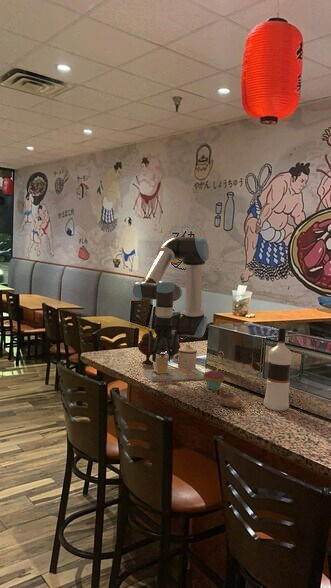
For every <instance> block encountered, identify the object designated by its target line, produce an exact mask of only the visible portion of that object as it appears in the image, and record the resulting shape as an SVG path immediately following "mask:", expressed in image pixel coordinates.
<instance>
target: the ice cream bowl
mask: <svg viewBox="0 0 331 588" xmlns="http://www.w3.org/2000/svg"><path fill="white" fill-rule="evenodd" d="M155 339H156V336H153V347H154V343H155ZM148 344H149V334H148V332H146V333H143V335H142V336H141V340H140V341H139V343H137V349H138V351H139V352H140V353H141V354H143V355H144V356H145V360H143V361H142V362H141V364H142V365H144V366H145V365H147V366H152V365H154V362H153V361H152V360H151V358H150V357H152V353H150V352H148ZM159 346H160V345H159ZM159 346H158V349H159ZM158 349H157V351H158Z"/></svg>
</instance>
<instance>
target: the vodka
mask: <svg viewBox="0 0 331 588" xmlns="http://www.w3.org/2000/svg"><path fill="white" fill-rule="evenodd" d="M286 332H287V329H286V328H285V327H279V328H278V337H277V344H276V345H275V346H274V347H272V348H270V350H269V351H268V366H267V378H266V387H265V388H266V390H265V395H264V398H263V406H264V407H265V408H266V409H268V410H271V411H275V412H276V411H277V412H283V411H284V412H285V411H287V410H289V408H290V401H289V400H290V399H289V398H290V397H289V395H290V393H289V391H290V390H289V389H290V385H291V381H290V379H291V378H290V375H291V367H292V359H293V354H292V351H291V350H290V349H289V348H288V347H287V346H286V335H287V333H286Z"/></svg>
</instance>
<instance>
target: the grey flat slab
mask: <svg viewBox="0 0 331 588" xmlns="http://www.w3.org/2000/svg"><path fill="white" fill-rule="evenodd" d="M142 372H143V373H142V374H143V375H144V376H145V377H146V378H147V379H148V380H149V381H150V382H168V381H172V382H173V381H194V380H195V381H197V380H198V381H199V380H200V381H201V380H205V379H204V378H203V377H204V374H205V373H203V372H202V371H199V369H196V367H195V368H178V367H177V368H168V369H167V374H161V375H156V374H155V373H154V368H152V369H143V371H142Z"/></svg>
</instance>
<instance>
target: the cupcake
mask: <svg viewBox="0 0 331 588" xmlns="http://www.w3.org/2000/svg"><path fill="white" fill-rule="evenodd" d="M220 363H221V359H219V360H218V363H217V367H216V370H210V371H207V372H205V373H203V374H204V377H203V378H204V379H203V380H205V382H206V385H207V388H208V389H210V390H217V389H218V388H221V384H222V382H224V381H225V376H224V374H223V373H222V372H220V371H219V369H220Z"/></svg>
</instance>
